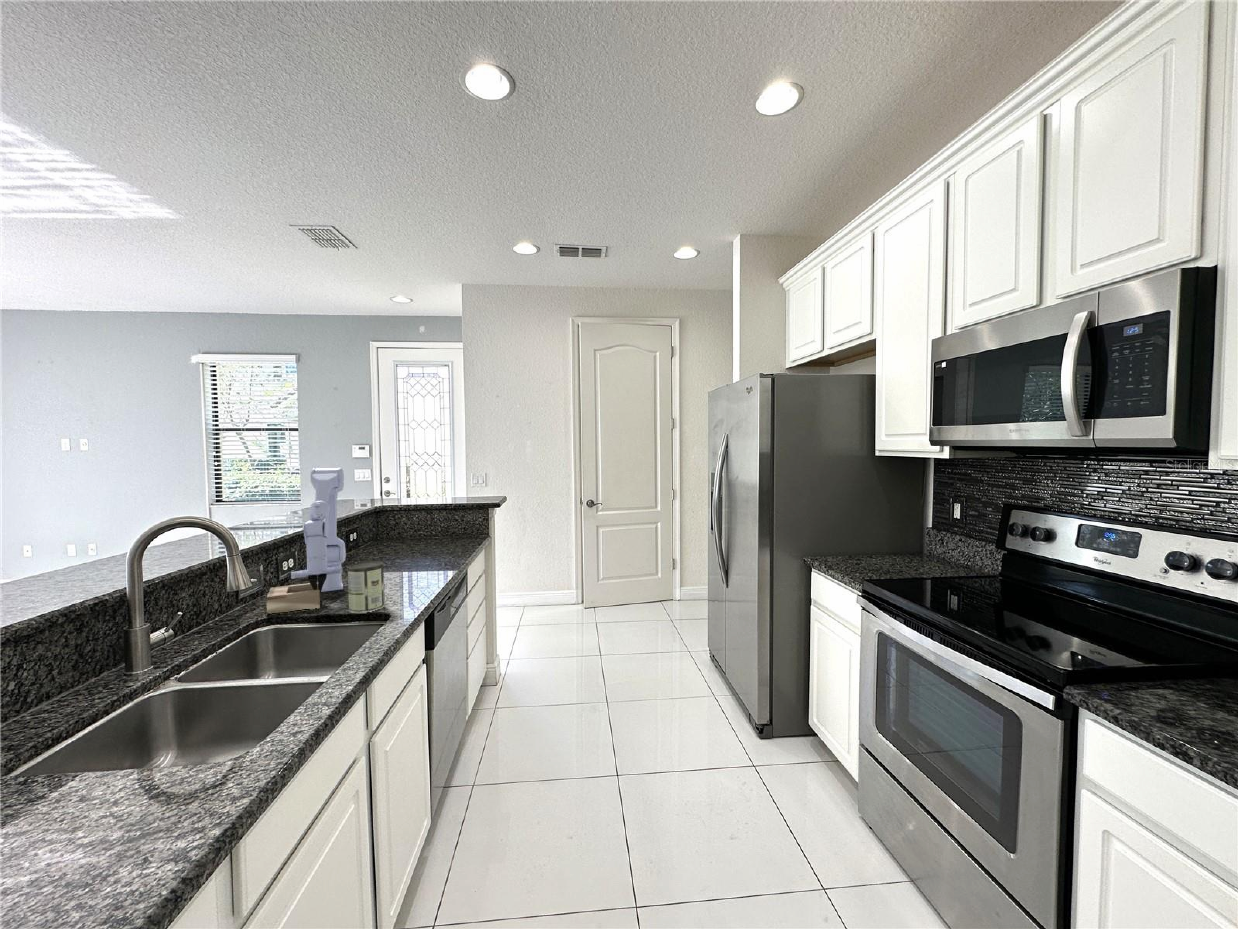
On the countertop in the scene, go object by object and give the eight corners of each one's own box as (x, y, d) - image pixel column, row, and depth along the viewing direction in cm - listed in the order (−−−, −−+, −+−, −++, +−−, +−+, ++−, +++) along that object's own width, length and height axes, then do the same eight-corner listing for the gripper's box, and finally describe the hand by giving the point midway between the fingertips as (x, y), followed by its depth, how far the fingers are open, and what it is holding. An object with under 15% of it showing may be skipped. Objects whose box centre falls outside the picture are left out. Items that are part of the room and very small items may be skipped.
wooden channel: (271, 604, 170) (270, 587, 170) (320, 598, 177) (319, 582, 177) (267, 615, 159) (266, 597, 159) (319, 608, 166) (319, 590, 166)
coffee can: (360, 603, 170) (359, 561, 170) (390, 604, 169) (389, 561, 169) (340, 613, 160) (339, 568, 160) (372, 614, 159) (371, 568, 159)
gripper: (290, 561, 164) (291, 604, 164) (342, 556, 171) (343, 597, 171) (291, 557, 170) (292, 598, 170) (341, 552, 177) (342, 592, 177)
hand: (317, 597), depth 171 cm, fingers closed
